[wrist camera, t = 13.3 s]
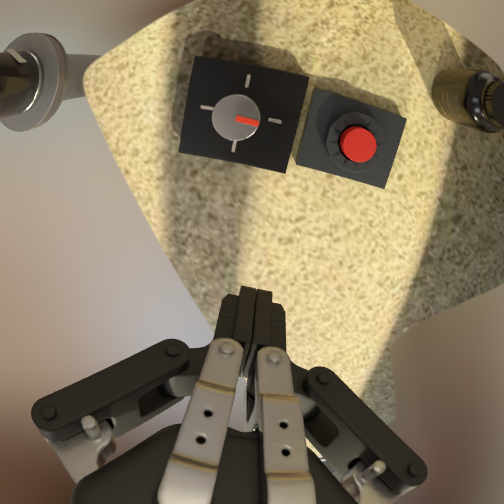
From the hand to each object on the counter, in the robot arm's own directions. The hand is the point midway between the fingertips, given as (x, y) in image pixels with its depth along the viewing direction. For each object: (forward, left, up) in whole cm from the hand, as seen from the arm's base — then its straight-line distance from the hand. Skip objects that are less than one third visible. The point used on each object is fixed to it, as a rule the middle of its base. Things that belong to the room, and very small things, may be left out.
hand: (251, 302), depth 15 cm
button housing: (+9, +6, -25) cm, 27 cm away
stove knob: (-4, +6, -22) cm, 23 cm away
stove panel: (-4, +6, -25) cm, 26 cm away
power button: (+9, +6, -22) cm, 24 cm away
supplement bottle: (+20, +16, -25) cm, 36 cm away
